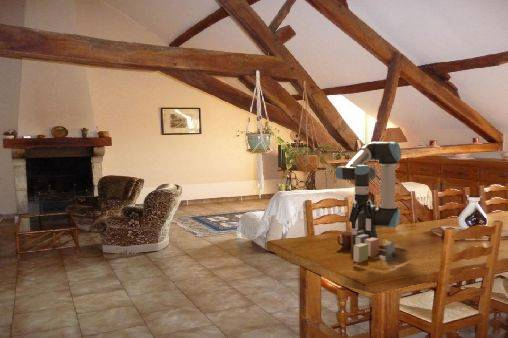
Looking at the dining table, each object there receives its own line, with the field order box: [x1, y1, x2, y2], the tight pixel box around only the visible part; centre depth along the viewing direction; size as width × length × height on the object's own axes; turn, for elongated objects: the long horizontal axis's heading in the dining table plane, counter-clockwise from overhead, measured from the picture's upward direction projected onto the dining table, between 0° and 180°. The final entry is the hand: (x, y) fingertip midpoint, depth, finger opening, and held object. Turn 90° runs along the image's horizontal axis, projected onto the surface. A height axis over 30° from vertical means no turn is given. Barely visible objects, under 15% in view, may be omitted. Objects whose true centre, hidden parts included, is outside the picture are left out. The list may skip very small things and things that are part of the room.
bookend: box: [384, 242, 400, 262], centre depth 252 cm, size 4×8×8 cm, turn 134°
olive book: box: [352, 243, 369, 266], centre depth 251 cm, size 4×8×10 cm, turn 134°
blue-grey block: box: [355, 234, 369, 245], centre depth 266 cm, size 4×8×10 cm, turn 134°
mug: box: [336, 231, 352, 250], centre depth 277 cm, size 12×9×10 cm
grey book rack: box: [350, 231, 401, 262], centre depth 260 cm, size 25×11×13 cm, turn 44°
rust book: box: [364, 237, 380, 258], centre depth 261 cm, size 4×8×9 cm, turn 134°
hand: (361, 232), depth 250 cm, fingers open, 13 cm apart
